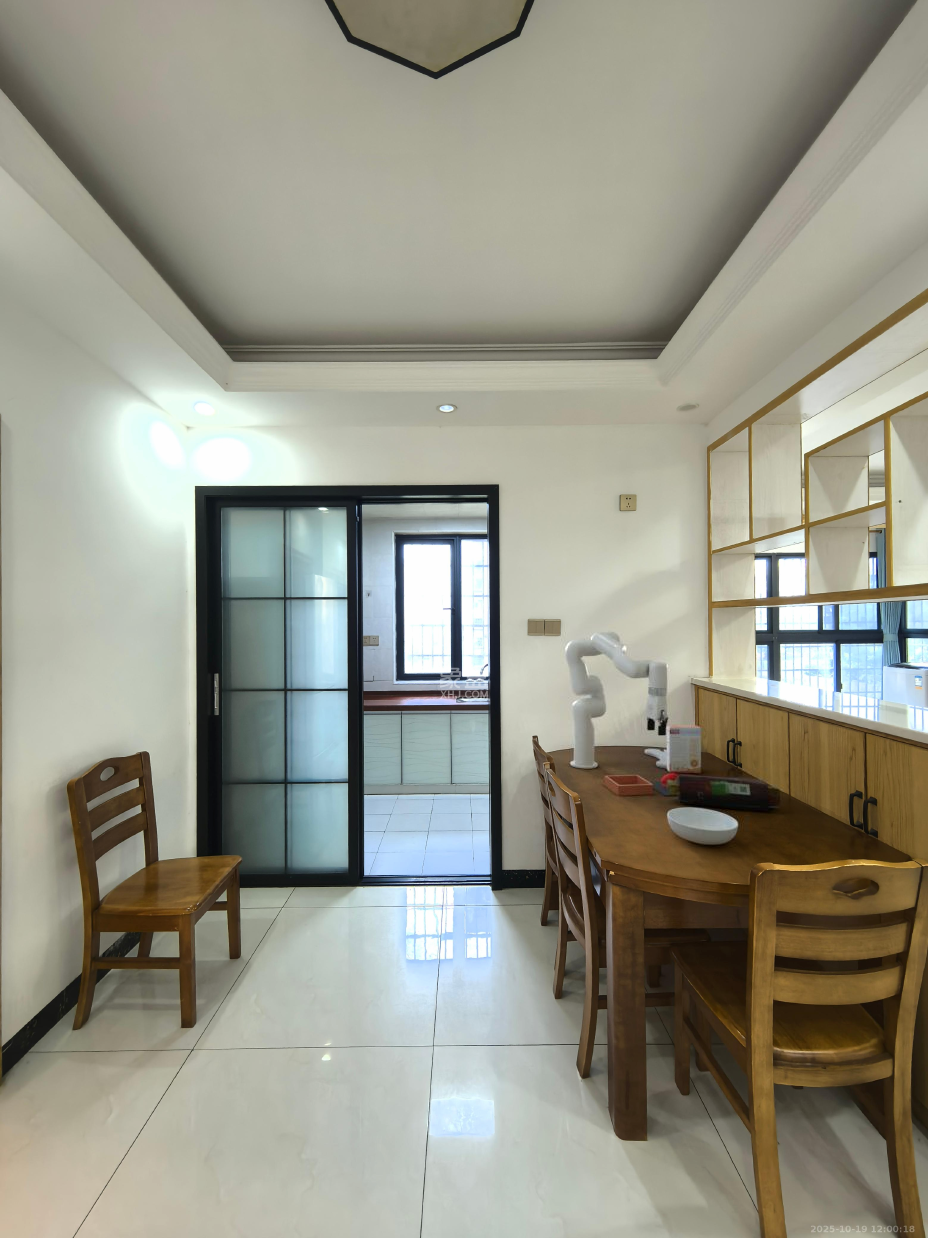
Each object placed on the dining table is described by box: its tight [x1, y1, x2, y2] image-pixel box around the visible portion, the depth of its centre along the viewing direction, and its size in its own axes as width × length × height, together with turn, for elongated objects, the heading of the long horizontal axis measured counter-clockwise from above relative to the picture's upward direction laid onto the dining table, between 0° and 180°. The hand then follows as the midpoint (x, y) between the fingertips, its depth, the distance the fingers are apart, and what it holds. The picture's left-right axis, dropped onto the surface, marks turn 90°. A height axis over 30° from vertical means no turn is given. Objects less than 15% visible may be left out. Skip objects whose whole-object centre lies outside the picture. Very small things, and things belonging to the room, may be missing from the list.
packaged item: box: [666, 773, 781, 813], centre depth 222 cm, size 39×10×10 cm, turn 76°
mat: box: [649, 781, 677, 797], centre depth 242 cm, size 18×14×1 cm
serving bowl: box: [666, 806, 739, 846], centre depth 187 cm, size 21×21×7 cm
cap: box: [660, 772, 678, 788], centre depth 242 cm, size 8×6×6 cm
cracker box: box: [666, 724, 702, 774], centre depth 270 cm, size 14×6×21 cm, turn 84°
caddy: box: [603, 774, 654, 797], centre depth 241 cm, size 15×15×4 cm
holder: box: [644, 748, 667, 770], centre depth 290 cm, size 19×34×5 cm, turn 175°
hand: (656, 732), depth 246 cm, fingers open, 9 cm apart
